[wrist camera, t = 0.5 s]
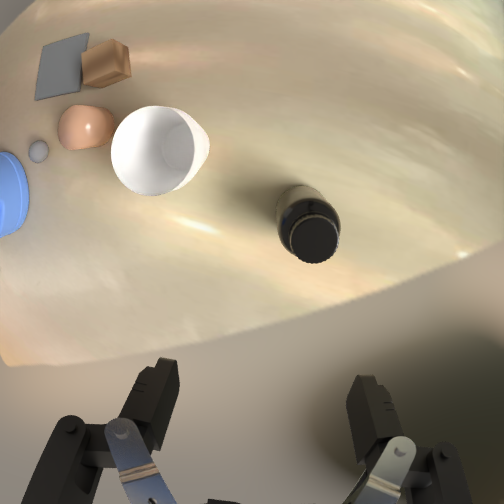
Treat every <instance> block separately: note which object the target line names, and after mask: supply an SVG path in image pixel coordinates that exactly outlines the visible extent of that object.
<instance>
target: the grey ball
mask: <svg viewBox="0 0 504 504" xmlns="http://www.w3.org/2000/svg"><path fill="white" fill-rule="evenodd" d="M48 152H49V148H48V145H47V144H46V143H45V142H44V141H36V142H34V143H33V144H32V145H31V147H30V149H29V157H30V159H31V160H32V161H33V162H35V163H40V162H42V161H44V160H45V159H46V157H47V156H48Z"/></svg>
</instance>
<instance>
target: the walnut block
mask: <svg viewBox="0 0 504 504" xmlns="http://www.w3.org/2000/svg"><path fill="white" fill-rule="evenodd" d="M81 56H82V71H83V82H84V85H89V86H94V87H98V88H104V87H106V86H109V85H111V84H114V83H116V82H119V81H121V80H124V79H126V78H129V77H132V76H131V68H130V60H129V51H128V47H127V46H125V45H123V44H121V43H119V42H117V41H115V40H114V39H110V40H108V41H106V42H104V43H101V44H99V45H97V46H95V47H93V48H91V49H89V50H87V51H85V52H83V53H81Z"/></svg>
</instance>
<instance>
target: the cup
mask: <svg viewBox="0 0 504 504" xmlns="http://www.w3.org/2000/svg"><path fill="white" fill-rule="evenodd" d="M209 149H210V143H209V138H208V136H207V134H206V132H205V131H204V130H203V129H202V128H201V127H200V126H199V125H198V124H197V122H196V121H195V120H194V119H193V118H192V117H190V116H189V115H188V114H186V113H185V112H183V111H181V110H179V109H176V108H173V107H162V106H148V107H144V108H141V109H138V110H136V111H134V112H133V113H131V114H130V115H128V116H127V117H126V118H125V119H124V120H123V121H122V123H121V124H120V125H119V127H118V129H117V130H116V132H115V135H114V137H113V141H112V146H111V159H112V164H113V168H114V170H115V173H116V175H117V176H118V178H119V179H120V181H121V182H122V183H123V184H124V185H125V186H126V187H127V188H129V189H130V190H132V191H133V192H135V193H138V194H141V195H146V196H157V195H161V194H165V193H167V192H170V191H174V190H176V189H179V188H181V187H182V186H184V185H185V184H186V183H188V182H189V181H190V180H191V179H192V178H193V177H194V176H195V174H196V173H197V171H198V170H199V169H200V167H201V166H202V164H203V163H204V162H205V160H206V158H207V156H208V154H209Z"/></svg>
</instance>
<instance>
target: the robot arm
mask: <svg viewBox="0 0 504 504" xmlns="http://www.w3.org/2000/svg"><path fill="white" fill-rule="evenodd" d="M179 387H180V382H179V375H178V365H177V361H176V360H172V359H167V358H159V359H158V361H157V364H156V366H155V368H153V367H149V366H147V367H146V368H145V369H144V370H143V371H141V372H140V373H139V375H138V377H137V379H136V381H135V384H134V385H133V387H132V390H131V392H130V394H129V396H128V398H127V400H126V402H125V404H124V406H123V408H122V410H121V413H120V415H119V416H118V418H115V419H113V420H111V421H109V422H108V423H107V424H102V425H100V424H85V423H84V421H83V420H82V419H81V418H79V417H77V416H74V415H68V416H65V417H63V418H61V419H60V420H59V421H58V422H57V425H56V426H55V428H54V430H53V432H52V434H51V436H50V438H49V440H48V443H47V445H46V447H45V449H44V451H43V453H42V455H41V457H40V460H39V462H38V464H37V466H36V469H35V471H34V473H33V475H32V478H31V480H30V482H29V485H28V487H27V490H26V492H25V495H24V497H23V500H22V502H21V504H92V503H93V499H94V496H95V493H96V490H97V486H98V483H99V480H100V477H101V474H102V471H103V468H117V469H118V472H119V474H120V476H119V478H120V481H121V483H122V486H123V488H124V490H125V493H126V495H127V497H128V499H129V501H130V503H131V504H177V502H176V501H175V499H174V497H173V496H172V494H171V492H170V490H169V489H168V487H167V485H166V483H165V482H164V480H163V478H162V476H161V474H160V472H159V470H158V469H157V467H156V465H155V464H154V462H153V460H152V458H151V453H152V451H153V450H157V451H160V450H161V446H162V444H163V440H164V437H165V434H166V431H167V428H168V425H169V421H170V418H171V415H172V412H173V409H174V406H175V403H176V400H177V397H178V394H179ZM346 409H347V414H348V419H349V423H350V429H351V433H352V439H353V444H354V449H355V455H356V460H357V465H361V464H366V470H365V471H364V473H363V474H362V476H361V477H360V479H359V481H358V482H357V484H356V485H355V487H354V488H353V490H352V491H351V492H350V494H349V495H348V497H347V498H346V499H345V501H344V502H343V503H342V504H396V502H397V500H398V498H399V497H400V494H401V491H399V489H400V487H404V488H405V494H406V500H407V504H473V503H472V499H471V495H470V492H469V488H468V484H467V480H466V477H465V473H464V470H463V467H462V464H461V461H460V457H459V454H458V451H457V449H456V447H455V446H454V445H452V444H451V443H449V442H440V443H438V444H437V445H435V447H434V448H428V447H419V446H415V444H414V443H413V441H412V440H410V439H408V438H407V437H405V436H404V434H403V431H402V428H401V425H400V422H399V419H398V416H397V413H396V411H395V407H394V404H393V403H392V398H391V396H390V393H389V392H388V391H387V389H386V388H385V387H384V386H383V385H377V382H376V379H375V376H374V375H357V376H356V378H355V380H354V382H353V385H352V387H351V389H350V392H349V394H348V396H347V400H346ZM206 504H240V503H236V502H230V501H222V500H214V499H208V503H206Z"/></svg>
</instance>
